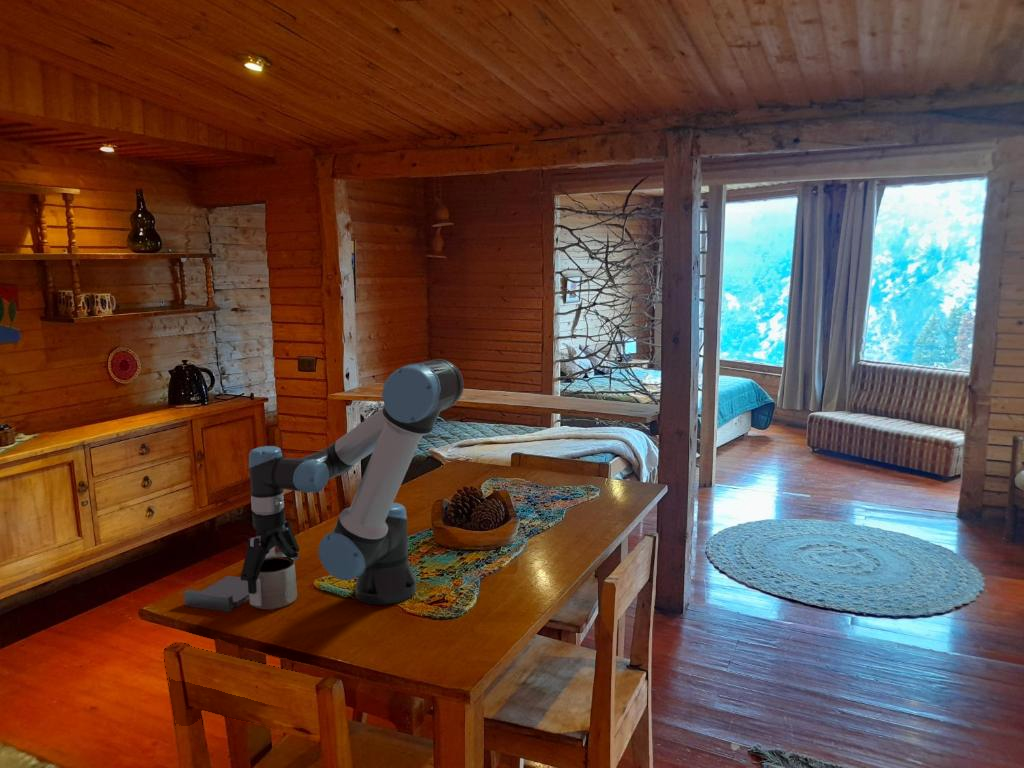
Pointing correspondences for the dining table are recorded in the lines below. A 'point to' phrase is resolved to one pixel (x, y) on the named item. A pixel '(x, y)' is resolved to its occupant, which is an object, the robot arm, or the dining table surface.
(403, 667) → the dining table surface
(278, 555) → the pink cylinder stand
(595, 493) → the dining table surface
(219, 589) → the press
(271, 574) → the planter
